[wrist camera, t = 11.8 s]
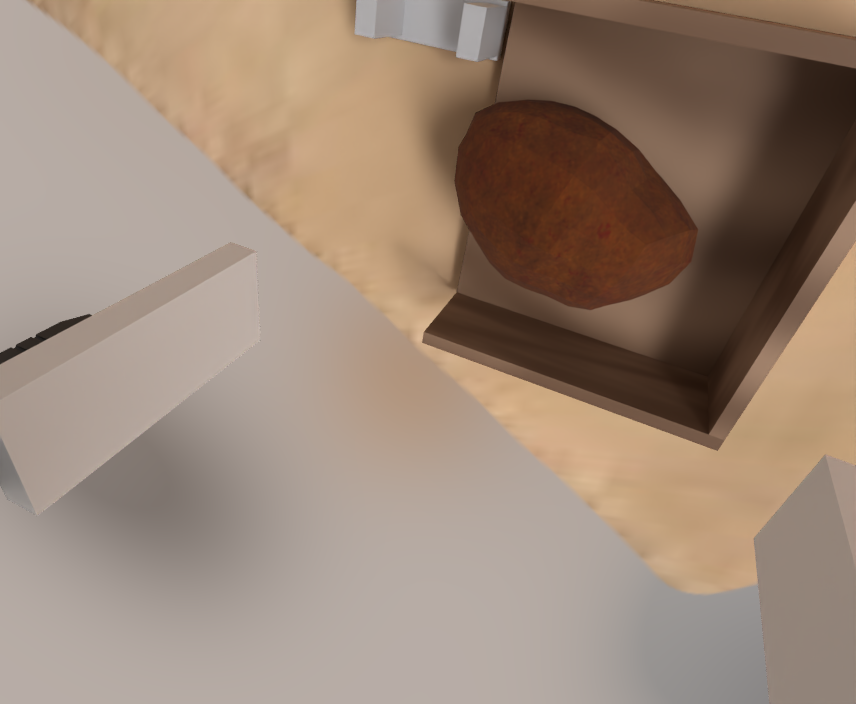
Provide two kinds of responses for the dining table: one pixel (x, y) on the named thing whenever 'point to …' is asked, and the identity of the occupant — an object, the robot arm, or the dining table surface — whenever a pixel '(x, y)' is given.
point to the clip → (439, 24)
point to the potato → (569, 205)
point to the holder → (699, 193)
